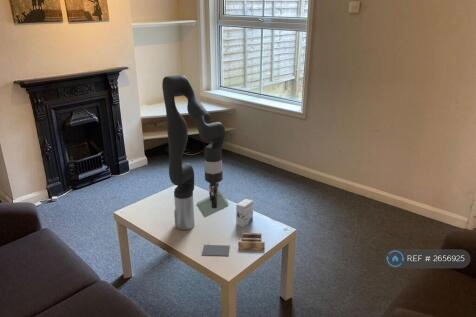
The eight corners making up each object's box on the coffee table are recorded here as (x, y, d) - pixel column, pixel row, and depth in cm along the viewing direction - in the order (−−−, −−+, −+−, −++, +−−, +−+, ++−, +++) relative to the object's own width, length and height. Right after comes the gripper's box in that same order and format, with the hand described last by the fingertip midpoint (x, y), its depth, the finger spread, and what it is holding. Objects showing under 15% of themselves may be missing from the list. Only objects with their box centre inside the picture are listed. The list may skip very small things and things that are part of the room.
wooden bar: (238, 249, 174) (238, 243, 173) (238, 248, 175) (238, 241, 174) (264, 250, 173) (264, 243, 172) (264, 248, 175) (264, 242, 174)
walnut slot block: (241, 243, 178) (241, 239, 177) (242, 237, 184) (242, 232, 183) (261, 244, 178) (261, 239, 177) (261, 237, 183) (261, 233, 182)
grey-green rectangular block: (196, 205, 164) (220, 193, 162) (197, 202, 167) (220, 190, 164) (204, 217, 166) (228, 206, 164) (205, 215, 169) (228, 203, 166)
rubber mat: (201, 255, 170) (201, 254, 170) (204, 245, 177) (204, 244, 177) (228, 256, 169) (228, 255, 169) (229, 246, 177) (229, 245, 176)
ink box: (245, 217, 201) (245, 197, 197) (253, 220, 199) (253, 200, 195) (235, 224, 195) (235, 204, 191) (243, 227, 192) (243, 206, 188)
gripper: (206, 163, 166) (208, 199, 172) (202, 175, 153) (203, 214, 159) (224, 163, 166) (224, 199, 172) (220, 176, 153) (221, 214, 159)
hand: (214, 206), depth 165 cm, fingers closed on grey-green rectangular block, 2 cm apart
